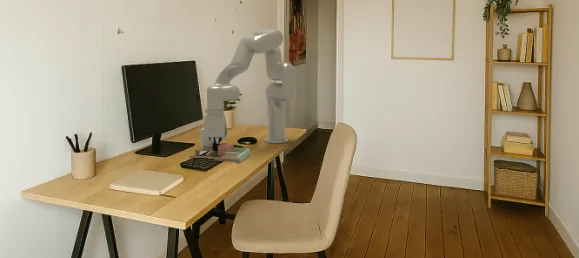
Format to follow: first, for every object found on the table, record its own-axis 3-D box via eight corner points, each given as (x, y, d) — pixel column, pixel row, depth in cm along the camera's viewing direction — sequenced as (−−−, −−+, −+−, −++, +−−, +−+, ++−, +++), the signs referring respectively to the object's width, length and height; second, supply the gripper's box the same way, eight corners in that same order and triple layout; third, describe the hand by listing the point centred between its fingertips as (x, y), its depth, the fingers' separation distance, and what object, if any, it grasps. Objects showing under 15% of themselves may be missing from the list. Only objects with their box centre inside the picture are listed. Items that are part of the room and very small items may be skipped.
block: (223, 153, 204) (222, 143, 203) (233, 154, 202) (233, 143, 201) (218, 156, 199) (217, 145, 198) (229, 157, 197) (228, 146, 196)
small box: (211, 150, 211) (210, 129, 209) (200, 150, 212) (200, 129, 210) (217, 146, 218) (216, 126, 216) (207, 146, 219) (206, 126, 217)
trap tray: (203, 151, 209) (203, 145, 209) (250, 154, 204) (250, 148, 203) (189, 159, 195) (189, 152, 194) (238, 163, 189) (238, 156, 189)
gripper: (197, 112, 197) (198, 151, 200) (227, 114, 193) (227, 154, 197) (204, 110, 204) (205, 148, 207) (233, 112, 200) (234, 150, 204)
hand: (216, 150), depth 202 cm, fingers closed
